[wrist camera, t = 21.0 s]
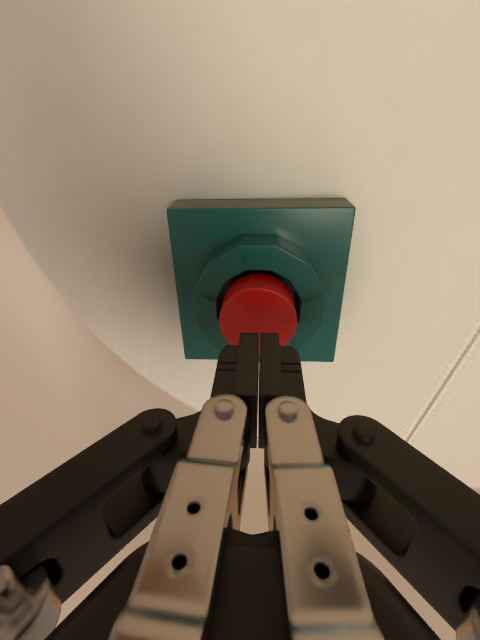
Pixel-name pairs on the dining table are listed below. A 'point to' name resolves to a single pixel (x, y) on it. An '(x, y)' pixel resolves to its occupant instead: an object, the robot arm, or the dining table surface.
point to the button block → (261, 264)
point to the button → (258, 308)
